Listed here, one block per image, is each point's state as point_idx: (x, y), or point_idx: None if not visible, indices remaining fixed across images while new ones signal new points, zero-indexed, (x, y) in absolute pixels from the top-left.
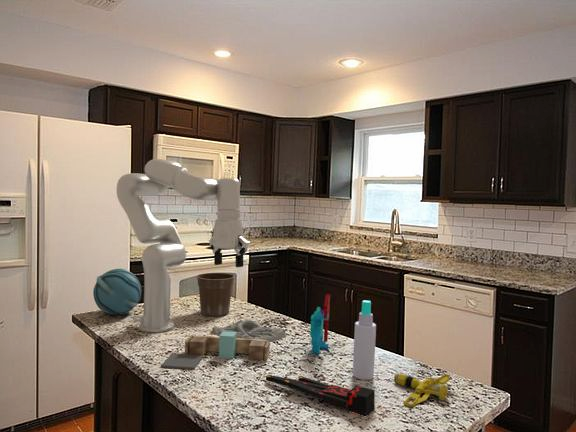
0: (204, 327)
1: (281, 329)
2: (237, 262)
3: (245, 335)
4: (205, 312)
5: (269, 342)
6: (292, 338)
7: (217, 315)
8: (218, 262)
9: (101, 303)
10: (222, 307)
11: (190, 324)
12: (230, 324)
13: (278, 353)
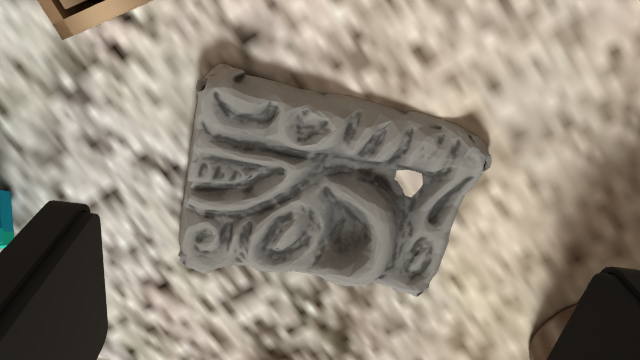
0: (546, 175)
1: (190, 257)
2: (3, 270)
3: (276, 119)
4: None
5: (57, 25)
6: (146, 238)
7: (558, 314)
8: (591, 341)
9: None
10: None
11: (629, 177)
12: (441, 239)
13: (70, 56)
